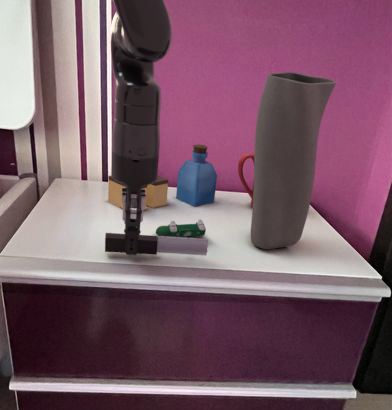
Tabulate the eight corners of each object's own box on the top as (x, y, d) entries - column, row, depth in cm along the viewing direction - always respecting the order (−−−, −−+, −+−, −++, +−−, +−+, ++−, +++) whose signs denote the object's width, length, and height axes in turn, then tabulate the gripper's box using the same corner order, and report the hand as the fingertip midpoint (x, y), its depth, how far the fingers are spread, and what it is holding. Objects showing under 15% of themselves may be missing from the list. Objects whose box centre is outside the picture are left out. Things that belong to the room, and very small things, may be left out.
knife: (104, 251, 97) (105, 235, 96) (105, 246, 99) (105, 230, 98) (207, 257, 100) (209, 242, 98) (205, 252, 102) (207, 236, 100)
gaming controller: (157, 248, 108) (166, 236, 103) (153, 229, 109) (162, 216, 103) (201, 245, 111) (212, 233, 106) (197, 227, 112) (208, 214, 106)
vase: (265, 259, 104) (297, 83, 88) (227, 235, 112) (250, 70, 96) (314, 251, 110) (352, 84, 94) (275, 228, 118) (304, 72, 102)
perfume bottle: (194, 206, 125) (199, 151, 118) (176, 198, 128) (180, 144, 122) (214, 202, 129) (220, 148, 122) (195, 194, 132) (201, 141, 126)
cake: (131, 213, 118) (132, 186, 115) (108, 201, 122) (108, 175, 119) (166, 204, 124) (168, 179, 121) (142, 194, 128) (143, 169, 125)
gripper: (113, 137, 95) (110, 234, 104) (110, 159, 83) (108, 266, 93) (157, 141, 96) (151, 237, 105) (161, 163, 84) (153, 268, 94)
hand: (131, 250), depth 99 cm, fingers closed on knife, 2 cm apart
